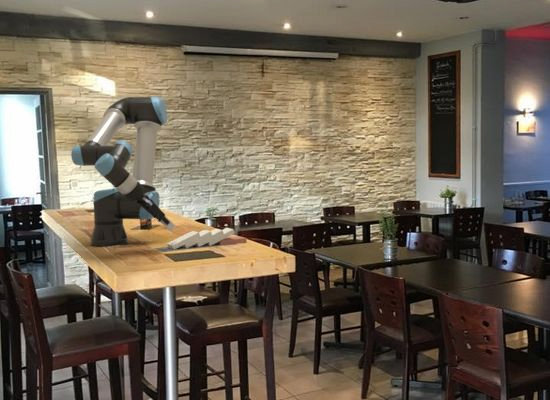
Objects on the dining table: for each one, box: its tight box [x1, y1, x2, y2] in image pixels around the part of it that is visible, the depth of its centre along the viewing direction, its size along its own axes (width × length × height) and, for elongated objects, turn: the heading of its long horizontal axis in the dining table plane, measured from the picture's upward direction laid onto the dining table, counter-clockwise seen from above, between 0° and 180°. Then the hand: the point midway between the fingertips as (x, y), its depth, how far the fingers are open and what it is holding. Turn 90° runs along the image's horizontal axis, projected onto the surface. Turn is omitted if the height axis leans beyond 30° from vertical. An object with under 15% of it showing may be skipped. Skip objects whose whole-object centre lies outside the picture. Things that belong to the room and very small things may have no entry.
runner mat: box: [153, 243, 237, 253], centre depth 246 cm, size 10×32×1 cm, turn 121°
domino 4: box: [205, 227, 235, 246], centre depth 251 cm, size 2×6×12 cm
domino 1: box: [166, 230, 200, 250], centre depth 244 cm, size 2×6×12 cm
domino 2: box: [181, 229, 212, 248], centre depth 246 cm, size 2×6×12 cm
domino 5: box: [215, 236, 247, 246], centre depth 254 cm, size 2×6×12 cm
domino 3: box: [194, 228, 224, 247], centre depth 249 cm, size 2×6×12 cm
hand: (172, 228), depth 241 cm, fingers closed
